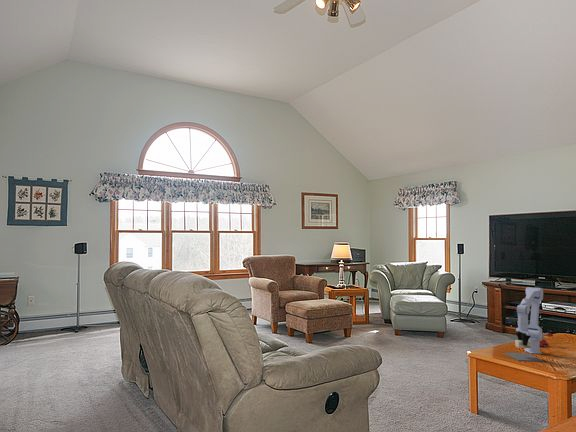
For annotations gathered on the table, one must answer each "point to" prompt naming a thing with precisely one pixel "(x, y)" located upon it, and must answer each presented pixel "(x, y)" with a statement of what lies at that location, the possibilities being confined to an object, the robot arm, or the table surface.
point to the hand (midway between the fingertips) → (523, 344)
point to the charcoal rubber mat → (523, 357)
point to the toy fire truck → (544, 342)
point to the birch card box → (520, 344)
